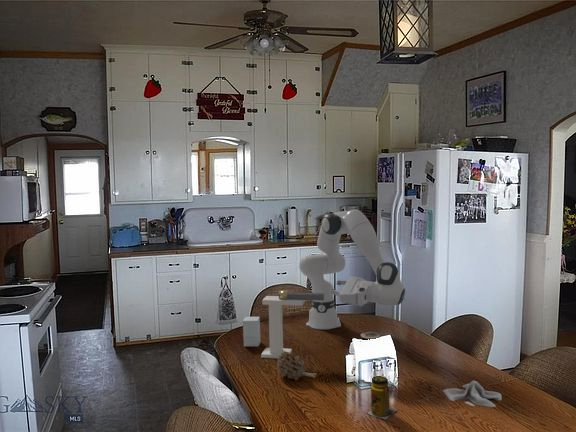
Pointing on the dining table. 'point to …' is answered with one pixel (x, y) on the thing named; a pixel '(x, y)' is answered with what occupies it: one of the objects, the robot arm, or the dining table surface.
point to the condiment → (380, 398)
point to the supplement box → (251, 331)
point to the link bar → (300, 296)
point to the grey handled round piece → (292, 366)
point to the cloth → (473, 394)
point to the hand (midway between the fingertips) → (334, 286)
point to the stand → (277, 325)
